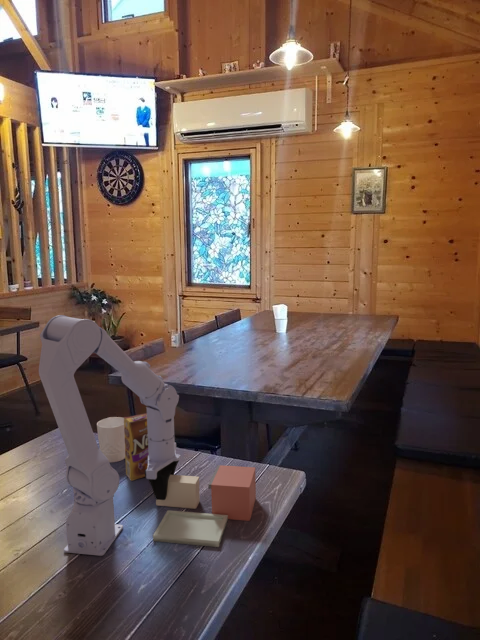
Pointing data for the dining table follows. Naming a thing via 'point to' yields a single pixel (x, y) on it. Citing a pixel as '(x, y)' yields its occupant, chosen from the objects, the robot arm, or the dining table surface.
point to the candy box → (136, 446)
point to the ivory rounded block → (181, 492)
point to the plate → (191, 528)
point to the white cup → (112, 438)
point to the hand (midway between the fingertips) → (163, 494)
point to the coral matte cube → (233, 491)
